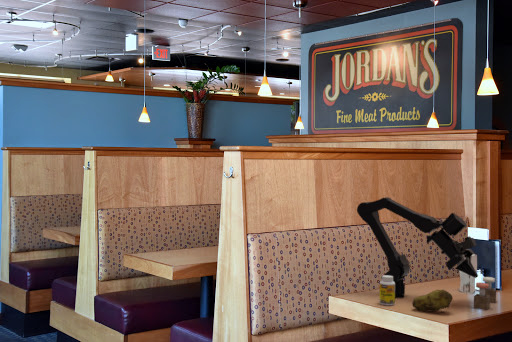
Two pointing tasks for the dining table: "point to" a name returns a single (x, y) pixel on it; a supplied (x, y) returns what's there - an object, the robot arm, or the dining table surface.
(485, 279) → the ivory key
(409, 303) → the dining table surface
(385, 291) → the supplement bottle
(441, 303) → the potato
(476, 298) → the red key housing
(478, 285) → the red rounded knob
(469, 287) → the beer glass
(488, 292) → the ivory key housing
